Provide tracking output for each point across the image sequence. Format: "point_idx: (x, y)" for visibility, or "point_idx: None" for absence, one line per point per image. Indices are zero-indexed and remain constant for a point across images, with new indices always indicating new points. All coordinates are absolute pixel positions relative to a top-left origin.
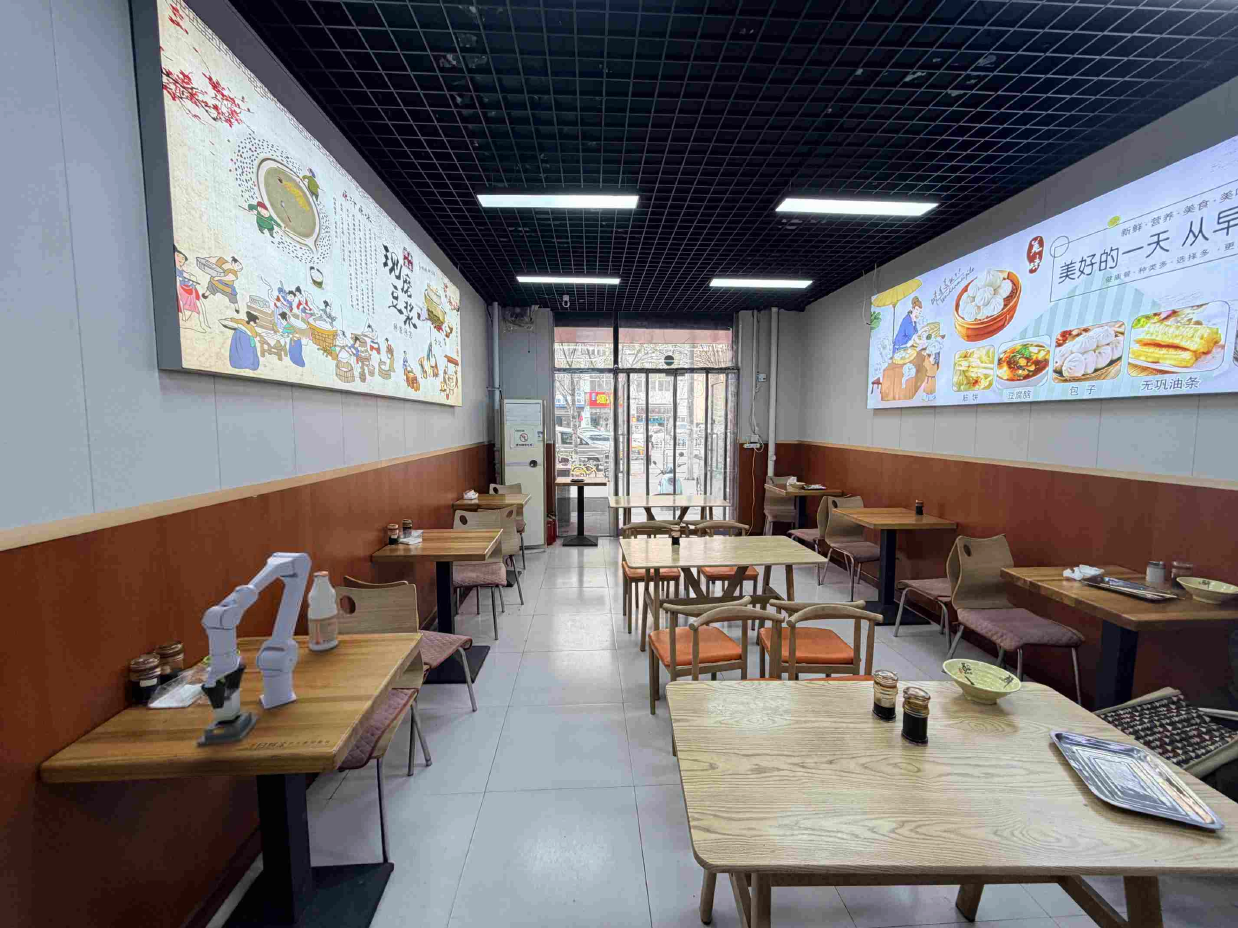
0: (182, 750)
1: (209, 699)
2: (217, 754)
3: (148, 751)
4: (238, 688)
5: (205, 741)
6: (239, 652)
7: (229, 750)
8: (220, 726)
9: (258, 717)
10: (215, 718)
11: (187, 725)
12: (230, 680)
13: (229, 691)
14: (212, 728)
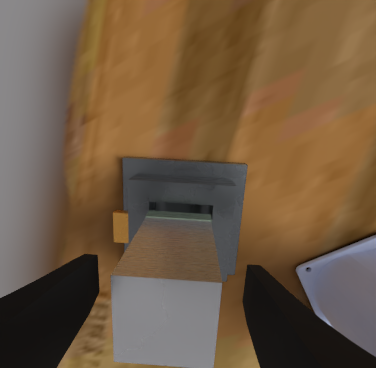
0: (111, 124)
1: (22, 288)
2: (73, 229)
3: (127, 10)
4: (210, 364)
5: (123, 181)
6: None
7: (87, 250)
8: (139, 224)
9: (232, 273)
10: (146, 214)
11: (276, 57)
12: (283, 359)
13: (179, 330)
14: (131, 203)
